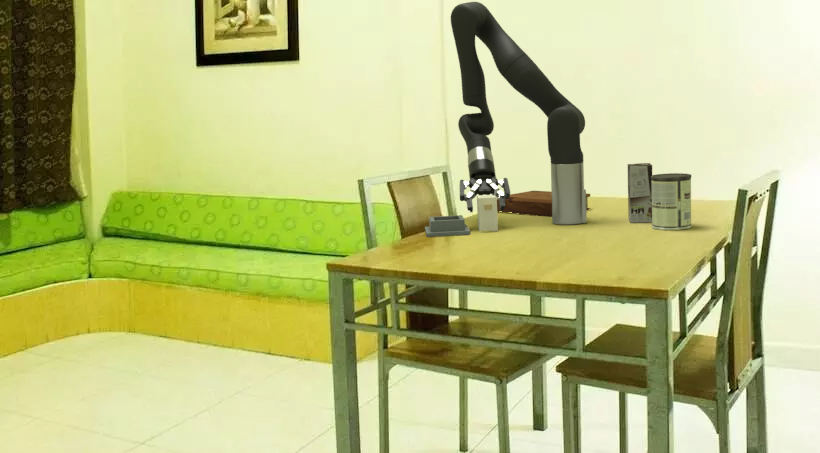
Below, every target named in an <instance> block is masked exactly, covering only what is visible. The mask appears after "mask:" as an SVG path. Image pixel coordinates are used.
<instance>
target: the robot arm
mask: <svg viewBox="0 0 820 453" xmlns="http://www.w3.org/2000/svg"><path fill="white" fill-rule="evenodd" d="M450 25H451V31H452V35H453V38H454V42H455V43H454V44H455V48H456V53H457V58H458V63H459V69H460V77H461V91H462V92H461V93H462V102H463V104H464V105H465V106H467V107H473V108H478V109H479V110H480V112H475V113H465V114H462V115H461V116H460V117H459V119H458V123H457V126H458V131H459V133H460V134H461V136H462V138H463V140H464V142H465V144H466V150H467V168H468V173H469V174H468V176H469V181H464V180H465V179H460V180H459V201H461V202H463V201H465V202H466V208H467V211H468V212H469V213H473V212H474V211H473V210H474V208H473V207H474V206H473V199H475V198H476V197H477V195H478V196H492V195H495V196H496V197H497V198H498V199H499V205H500V211H503V209H505V199H509V198H510V195H511V189H510V188H511V187H510V184H509V181H508V178H507V177H504V178H503V179H500V180H498V178H497V175H496V169H495V161H494V156H493V154H492V146H491V141H490V138H489V137H488V136H489V135H491V134H492V133H493V131H494V128H495V124H494V120H493V117H492V114H491V112H490V108H489V105H488V102H487V101H488V100H487V92H486V91H487V90H486V79H485V78H486V77H485V73H484V70H483V67H482V65H481V61H480V60H479V57H478V54H477V48H476V37H477V38H478V39H479V40H480V41H481V42H482V43H483V44H484V45H485V47H487V49H488V50H489V52H490V54H491V56H492V58H493V62H494V64H495V66H496V69H497V71H498V72H499V74H500V75H501V76H502V77H503V78H504V79H505V80H506V82H507V83H508V84H509V85H510V86H511V87H512V88H513V89H514V90H515V91H516V92H517V93H519V94H521V95H522V97H524V98H526V99H527V100H529V101H530V102H532V103H533V104H534V105H536V106H537V107H538V108H539V109H540V110H541V111H542V113H543V114H545V116H546V117H547V125H546V129H547V130H546V132H547V133H546V134H547V147H548V148H547V150H548V154H549V157H550V181H551V184H550V185H551V192H552V217H551V218H552V219H551V223H552V224H554V225H555V224H556V225H577V224H578V225H579V224H585V223H587V210H586V194H587V190H586V189H585V180H584V179H585V178H584V177H585V175H584V152H583V151H582V146H581V140H580V139H581V134H582V133H583V131H584V130H585V127H586V119H585V116H584V113H583V112H582V111H581V110H580V109H579V108H578V107H577V106H576V105H574V104H573V103H572V102H571V101H570V100H569V99H568V98H566V96H564V95H563V93H561V92H560V91H559V90H558V89H557V88H556V87H555V86H554V84H553V83H552V82H551V80H550V79H549V78H548V77H547V76H546V74H544V72H543V71H542V69H540V67H539V66H538V65H537V64H536V63H535V62H534V61H533V60H532V58H531V57H530V56H529V55H528V54H527V53H526V52H525V51H524V50H523V49H522V48H521V47H520V46H519V45H518V44H517V43H516V41H514V39H513V38H511V36H510V35H509V34H508V33H507V32H506V31H505V30H504V29H503V27H502V26H501V24H499V22H498V21H497V20H496V18H495V16H493V14H492V13H491V12H490V10H489V8H487V6H485V5H484V4H483V3H481V2H478V1H469V2H463V3H458V4H457V5H456V6H455V7H453V9H452V11H451V14H450ZM499 186H500V187H499ZM467 188H470V190H469V191H468V193H467V194H466V193H465V190H467ZM500 188H502V189H503V191H502V190H501V189H500Z"/></svg>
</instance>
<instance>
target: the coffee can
mask: <svg viewBox="0 0 820 453" xmlns="http://www.w3.org/2000/svg"><path fill="white" fill-rule="evenodd" d="M651 183H652V222H651V225H652V226H651V228H652V229H653V230H659V231H679V230H680V231H683V230H688V229H691V228H692V174H690V173H682V172H681V173H676V172H675V173H659V174H652V176H651Z"/></svg>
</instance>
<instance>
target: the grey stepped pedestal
mask: <svg viewBox="0 0 820 453" xmlns="http://www.w3.org/2000/svg"><path fill="white" fill-rule="evenodd" d="M465 220H466V219H465V218H464V217H463V215H462V214H459V215H442V216H440V215H439V216H429V217H428V221H429V222H428V223H429V226H424V232H425V235H426V238H435V237H434V236H438V237H453V236H454V235H457V236H470V235H469V234H471V230H470V228H469V226H468V225H467V224H466V221H465Z"/></svg>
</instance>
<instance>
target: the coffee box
mask: <svg viewBox="0 0 820 453" xmlns="http://www.w3.org/2000/svg"><path fill="white" fill-rule="evenodd" d="M652 175H653V165H652V164H651V163H650V162H643V163H642V162H641V163H628V164H627V204H628V206H627V211H628V215H627V216H628V221H629V222H630V223H632V224H633V223H634V224H635V223H652V183H651V176H652Z"/></svg>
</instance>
